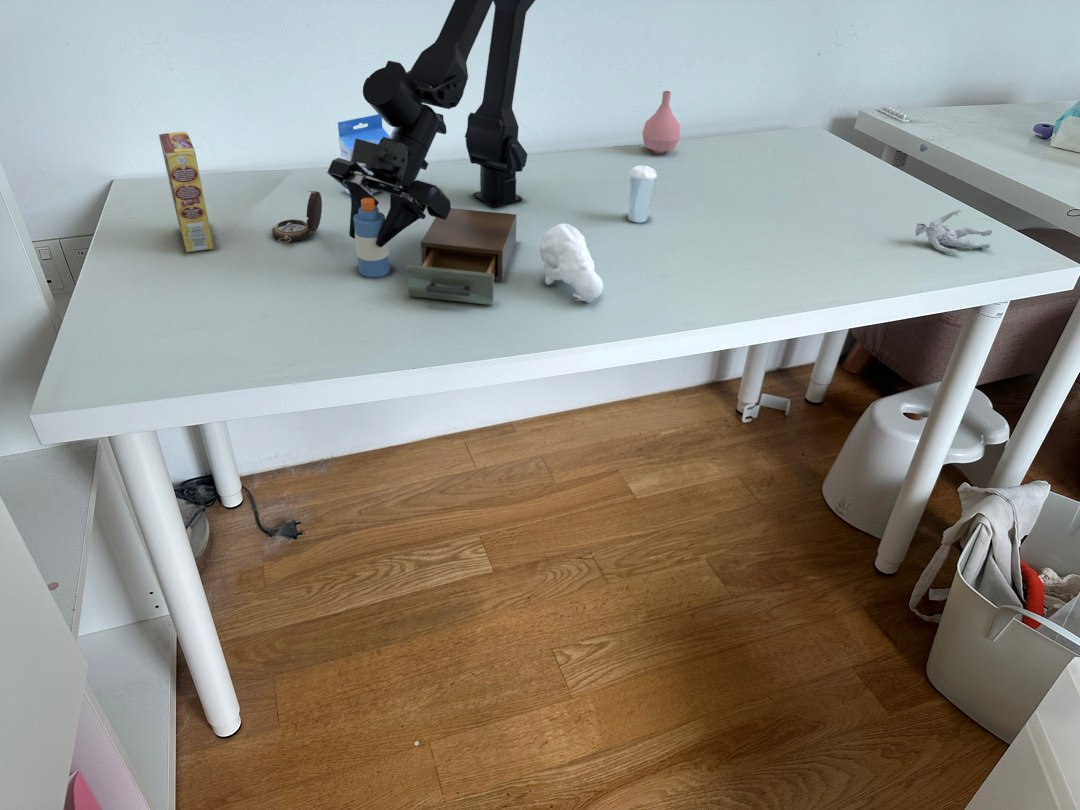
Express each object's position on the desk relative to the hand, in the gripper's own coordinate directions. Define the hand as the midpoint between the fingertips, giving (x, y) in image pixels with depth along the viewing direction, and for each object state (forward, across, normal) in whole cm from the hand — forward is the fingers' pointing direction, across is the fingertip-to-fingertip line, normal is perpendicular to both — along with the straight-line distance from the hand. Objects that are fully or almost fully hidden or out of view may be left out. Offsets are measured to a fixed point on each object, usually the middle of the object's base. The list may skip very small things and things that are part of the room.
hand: (364, 241), depth 113 cm
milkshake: (-26, +24, +34) cm, 49 cm away
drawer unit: (-6, +9, +13) cm, 17 cm away
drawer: (0, +13, +7) cm, 14 cm away
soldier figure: (-42, +72, +49) cm, 97 cm away
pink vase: (-50, +13, +57) cm, 77 cm away
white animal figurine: (-6, +27, +13) cm, 31 cm away
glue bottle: (+3, 0, +5) cm, 5 cm away
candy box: (+8, -29, -1) cm, 30 cm away
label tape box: (-14, -20, +21) cm, 32 cm away
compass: (+2, -17, +6) cm, 18 cm away
